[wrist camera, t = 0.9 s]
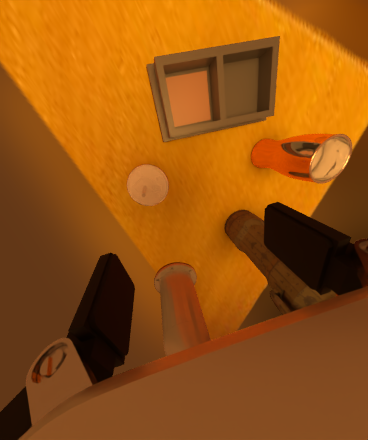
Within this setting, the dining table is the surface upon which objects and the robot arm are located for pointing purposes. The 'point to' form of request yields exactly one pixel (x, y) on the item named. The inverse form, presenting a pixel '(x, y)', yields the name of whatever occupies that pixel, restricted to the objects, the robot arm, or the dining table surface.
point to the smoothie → (147, 185)
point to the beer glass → (305, 156)
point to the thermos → (271, 264)
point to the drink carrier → (214, 87)
